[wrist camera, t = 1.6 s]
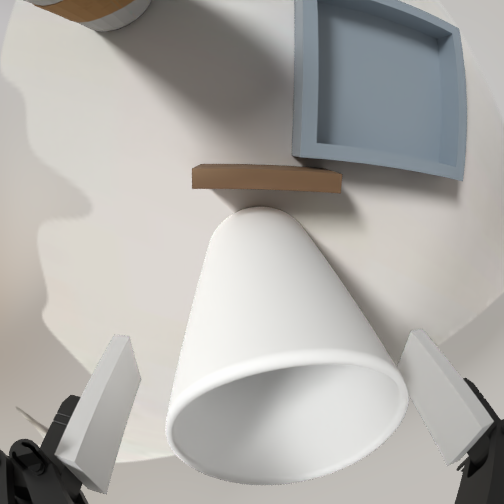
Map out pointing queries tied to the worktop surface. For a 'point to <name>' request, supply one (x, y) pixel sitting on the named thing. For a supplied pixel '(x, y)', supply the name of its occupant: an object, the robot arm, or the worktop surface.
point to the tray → (379, 86)
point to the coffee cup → (96, 11)
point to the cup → (278, 362)
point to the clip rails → (265, 177)
